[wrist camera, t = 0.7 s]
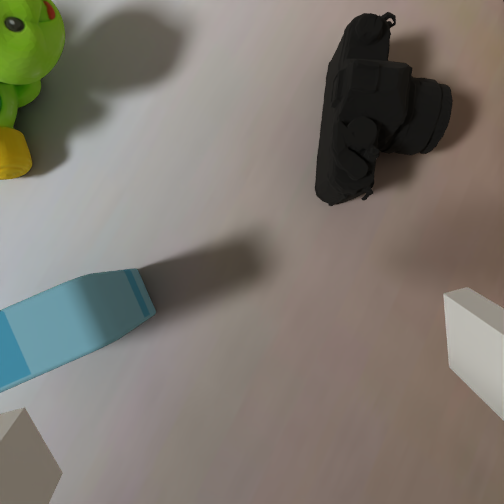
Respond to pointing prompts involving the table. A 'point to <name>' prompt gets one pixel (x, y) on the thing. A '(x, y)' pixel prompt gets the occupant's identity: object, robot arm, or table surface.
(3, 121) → the turtle toy
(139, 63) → the table surface
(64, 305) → the data package
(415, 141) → the film camera
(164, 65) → the table surface
